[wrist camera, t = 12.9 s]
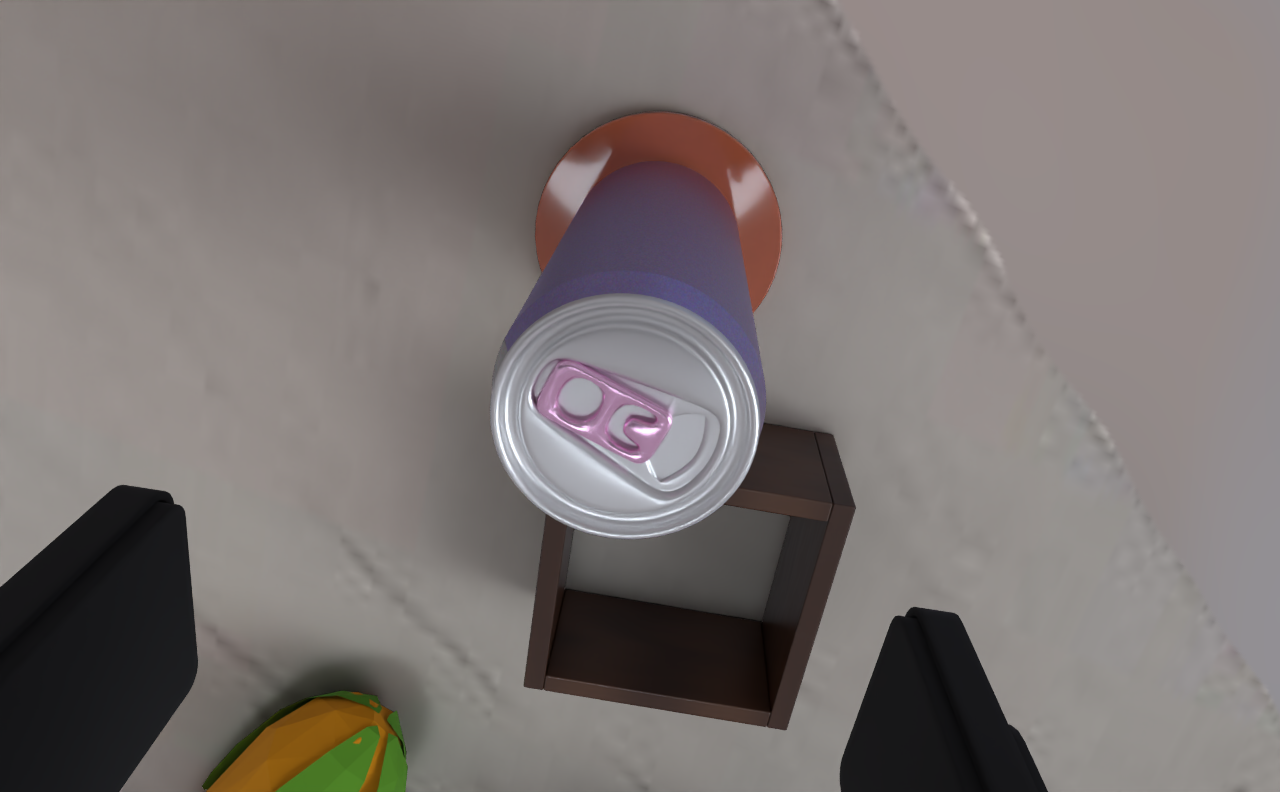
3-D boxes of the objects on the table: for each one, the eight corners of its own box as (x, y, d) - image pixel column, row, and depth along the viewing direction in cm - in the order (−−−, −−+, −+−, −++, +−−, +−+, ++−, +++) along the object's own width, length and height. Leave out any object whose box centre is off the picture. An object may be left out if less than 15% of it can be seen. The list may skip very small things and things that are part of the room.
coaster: (525, 330, 34) (523, 335, 33) (551, 90, 30) (549, 91, 29) (752, 369, 34) (753, 374, 33) (807, 134, 30) (808, 136, 29)
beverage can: (624, 125, 30) (560, 230, 16) (770, 211, 30) (828, 380, 17) (546, 270, 32) (434, 470, 18) (685, 346, 33) (676, 590, 19)
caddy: (545, 599, 39) (523, 687, 34) (574, 390, 34) (553, 456, 29) (775, 638, 39) (786, 731, 34) (833, 434, 35) (856, 507, 30)
